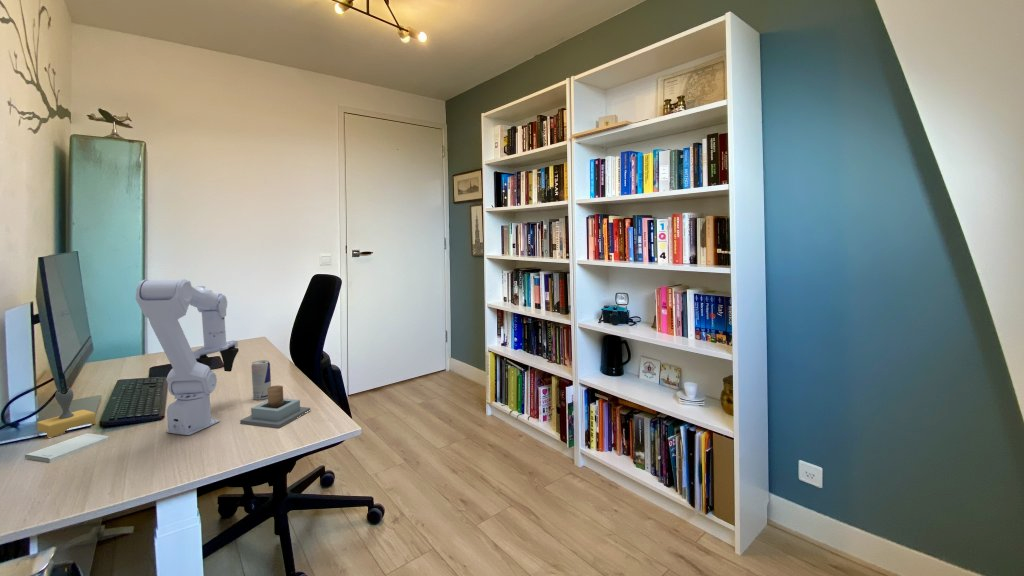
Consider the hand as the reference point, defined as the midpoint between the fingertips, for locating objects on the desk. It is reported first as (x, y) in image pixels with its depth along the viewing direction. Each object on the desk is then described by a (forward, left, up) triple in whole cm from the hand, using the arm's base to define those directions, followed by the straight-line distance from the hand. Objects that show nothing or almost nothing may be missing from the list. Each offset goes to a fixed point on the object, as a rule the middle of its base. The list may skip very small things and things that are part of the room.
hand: (217, 374), depth 136 cm
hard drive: (-32, +12, -11) cm, 36 cm away
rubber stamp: (-23, +26, -11) cm, 36 cm away
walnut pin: (-2, -23, -9) cm, 25 cm away
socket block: (-2, -23, -10) cm, 26 cm away
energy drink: (+11, -6, -11) cm, 16 cm away
